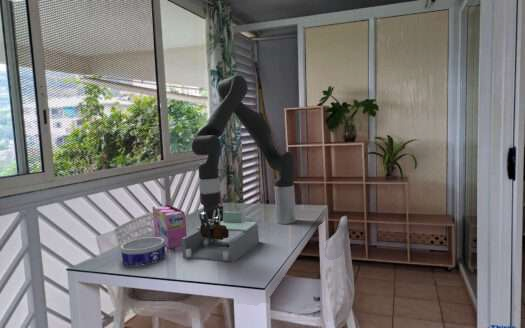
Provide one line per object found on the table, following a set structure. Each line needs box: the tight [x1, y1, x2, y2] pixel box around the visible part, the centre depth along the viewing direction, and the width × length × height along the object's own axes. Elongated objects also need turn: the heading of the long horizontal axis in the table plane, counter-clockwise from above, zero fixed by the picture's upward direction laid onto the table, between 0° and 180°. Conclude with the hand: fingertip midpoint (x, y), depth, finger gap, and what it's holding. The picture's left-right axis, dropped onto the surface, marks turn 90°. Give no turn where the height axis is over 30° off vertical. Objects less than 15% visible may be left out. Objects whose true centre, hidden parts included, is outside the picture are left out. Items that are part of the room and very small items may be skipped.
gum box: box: [152, 203, 188, 249], centre depth 158 cm, size 24×8×14 cm, turn 30°
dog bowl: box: [120, 236, 166, 266], centre depth 137 cm, size 15×15×6 cm
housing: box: [181, 223, 260, 262], centre depth 140 cm, size 24×21×7 cm
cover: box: [196, 211, 258, 232], centre depth 145 cm, size 10×21×5 cm, turn 68°
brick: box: [200, 223, 230, 241], centre depth 135 cm, size 11×4×5 cm, turn 54°
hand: (213, 236), depth 135 cm, fingers closed on brick, 4 cm apart
